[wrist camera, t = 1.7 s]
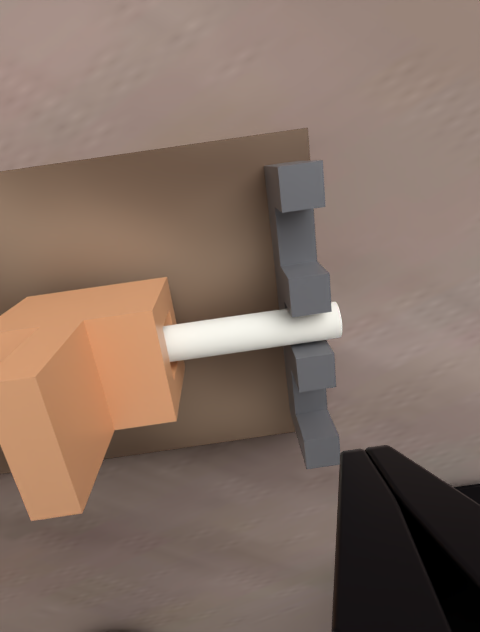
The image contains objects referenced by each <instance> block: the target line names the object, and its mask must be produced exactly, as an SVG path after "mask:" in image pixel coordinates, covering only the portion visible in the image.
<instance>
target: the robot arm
mask: <svg viewBox="0 0 480 632" xmlns="http://www.w3.org/2000/svg"><path fill="white" fill-rule="evenodd" d="M332 632H480V484H475V485H468V486H461V487H454V488H453V487H452V486H450V485H449V484H447V483H446V482H444V481H443V480H441V479H440V478H438V477H437V476H435V475H433V474H432V473H430V472H429V471H427V470H426V469H424V468H423V467H421V466H420V465H418V464H417V463H415V462H413V461H412V460H410V459H409V458H407V457H406V456H404V455H403V454H401V453H400V452H398V451H397V450H395V449H394V448H392V447H390V446H388V445H382V446H375V447H368V448H366V449H365V451H364V450H363V449H355V450H348V451H343V452H341V454H340V469H339V490H338V510H337V531H336V551H335V571H334V592H333V612H332Z"/></svg>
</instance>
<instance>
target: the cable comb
mask: <svg viewBox="0 0 480 632" xmlns="http://www.w3.org/2000/svg"><path fill="white" fill-rule="evenodd" d="M264 171H265V181H266V190H267V200H268V209H269V218H270V228H271V237H272V246H273V256H274V265H275V275H276V284H277V293H278V303H279V310H280V309H287V308H288V310H289V312H290V314H291V316H292V317H299V316H306V315H313V314H320V313H327V312H332V309H331V292H330V275H329V272H328V271H327V270H325V269H324V268H323V267H322V266H321V265H320V264H319V263H318V262H317V253H316V239H315V225H314V210H313V208H319V207H325V192H324V175H323V160H319V161H295V162H288V163H281V164H274V165H267V166H264ZM283 350H284V359H285V368H286V378H287V387H288V396H289V406H290V414H291V417H292V420H293V424H294V427H295V431H296V434H297V438H298V441H299V445H300V448H301V451H302V455H303V458H304V462H305V465H306V469H312V468H319V467H326V466H333V465H340V443H339V434H338V432H337V430H336V428H335V425H334V423H333V421H332V419H331V416H330V414H329V412H328V410H327V397H326V388H333V387H336V376H335V359H334V352H333V351H332V349H331V348H330V346H329V344H328V343H327V341H326V340H321V341H314V342H307V343H300V344H293V345H286V346H283Z"/></svg>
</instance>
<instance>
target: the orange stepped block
mask: <svg viewBox="0 0 480 632" xmlns="http://www.w3.org/2000/svg"><path fill="white" fill-rule="evenodd" d="M175 324H177V323H176V318H175V313H174V309H173V304H172V299H171V294H170V289H169V284H168V279H167V277H162V278H155V279H148V280H141V281H134V282H127V283H120V284H113V285H106V286H99V287H92V288H85V289H78V290H71V291H64V292H57V293H50V294H43V295H36V296H29V297H26V298H25V299H23V300H22V301H21V302H19V303H18V304H16V305H15V306H13V307H12V308H11V309H9V310H8V311H6V312H5V313H3V314H2V315H1V316H0V445H1V448H2V450H3V453H4V455H5V458H6V460H7V463H8V465H9V468H10V470H11V473H12V475H13V477H14V480H15V482H16V485H17V487H18V490H19V492H20V495H21V497H22V500H23V502H24V505H25V507H26V510H27V512H28V514H29V517H30V519H31V521H33V520H40V519H47V518H54V517H61V516H68V515H75V514H82V513H83V511H84V508H85V506H86V503H87V500H88V498H89V495H90V493H91V490H92V488H93V485H94V482H95V480H96V477H97V475H98V472H99V469H100V467H101V464H102V462H103V459H104V456H105V454H106V451H107V449H108V446H109V443H110V441H111V438H112V436H113V433H114V430H119V429H126V428H133V427H140V426H147V425H154V424H161V423H168V422H175V421H177V416H178V409H179V403H180V397H181V390H182V384H183V378H184V371H185V363H184V360H181V361H174V362H170V360H169V355H168V351H167V346H166V341H165V337H164V332H163V326H168V325H175Z"/></svg>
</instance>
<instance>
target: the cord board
mask: <svg viewBox="0 0 480 632" xmlns="http://www.w3.org/2000/svg"><path fill="white" fill-rule="evenodd" d="M295 161H310V151H309V137H308V128H302V129H295V130H288V131H281V132H274V133H267V134H260V135H253V136H246V137H239V138H232V139H225V140H218V141H211V142H204V143H197V144H190V145H183V146H176V147H169V148H162V149H155V150H148V151H141V152H134V153H127V154H120V155H113V156H106V157H99V158H92V159H85V160H78V161H71V162H64V163H57V164H50V165H43V166H36V167H29V168H22V169H15V170H7V171H0V316H1V315H2V314H3V313H5V312H6V311H8V310H9V309H11V308H12V307H13V306H15V305H16V304H18V303H19V302H21V301H22V300H23V299H25V298H26V297H29V296H36V295H43V294H50V293H57V292H64V291H71V290H78V289H85V288H92V287H99V286H106V285H113V284H120V283H127V282H134V281H141V280H148V279H155V278H162V277H167V279H168V284H169V289H170V294H171V299H172V304H173V309H174V313H175V318H176V323H177V324H182V323H189V322H196V321H203V320H210V319H217V318H224V317H231V316H238V315H245V314H252V313H259V312H266V311H273V310H279V303H278V293H277V284H276V275H275V265H274V256H273V246H272V237H271V228H270V218H269V209H268V200H267V190H266V181H265V171H264V166H267V165H274V164H281V163H288V162H295ZM313 210H314V209H313ZM314 225H315V223H314ZM315 239H316V238H315ZM316 253H317V252H316ZM184 363H185V371H184V378H183V384H182V390H181V397H180V403H179V409H178V416H177V421H175V422H168V423H161V424H154V425H147V426H140V427H133V428H126V429H119V430H114V433H113V436H112V438H111V441H110V443H109V446H108V449H107V451H106V454H105V456H104V459H109V458H116V457H123V456H130V455H137V454H144V453H151V452H158V451H165V450H171V449H178V448H185V447H192V446H199V445H206V444H213V443H220V442H227V441H234V440H241V439H248V438H255V437H262V436H269V435H276V434H283V433H290V432H296V431H295V427H294V424H293V420H292V417H291V414H290V406H289V396H288V387H287V378H286V368H285V359H284V350H283V346H279V347H272V348H265V349H258V350H251V351H244V352H237V353H230V354H223V355H216V356H209V357H202V358H195V359H188V360H184ZM326 397H327V396H326ZM4 473H11V470H10V468H9V465H8V463H7V460H6V458H5V455H4V453H3V450H2V448H1V445H0V474H4Z"/></svg>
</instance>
